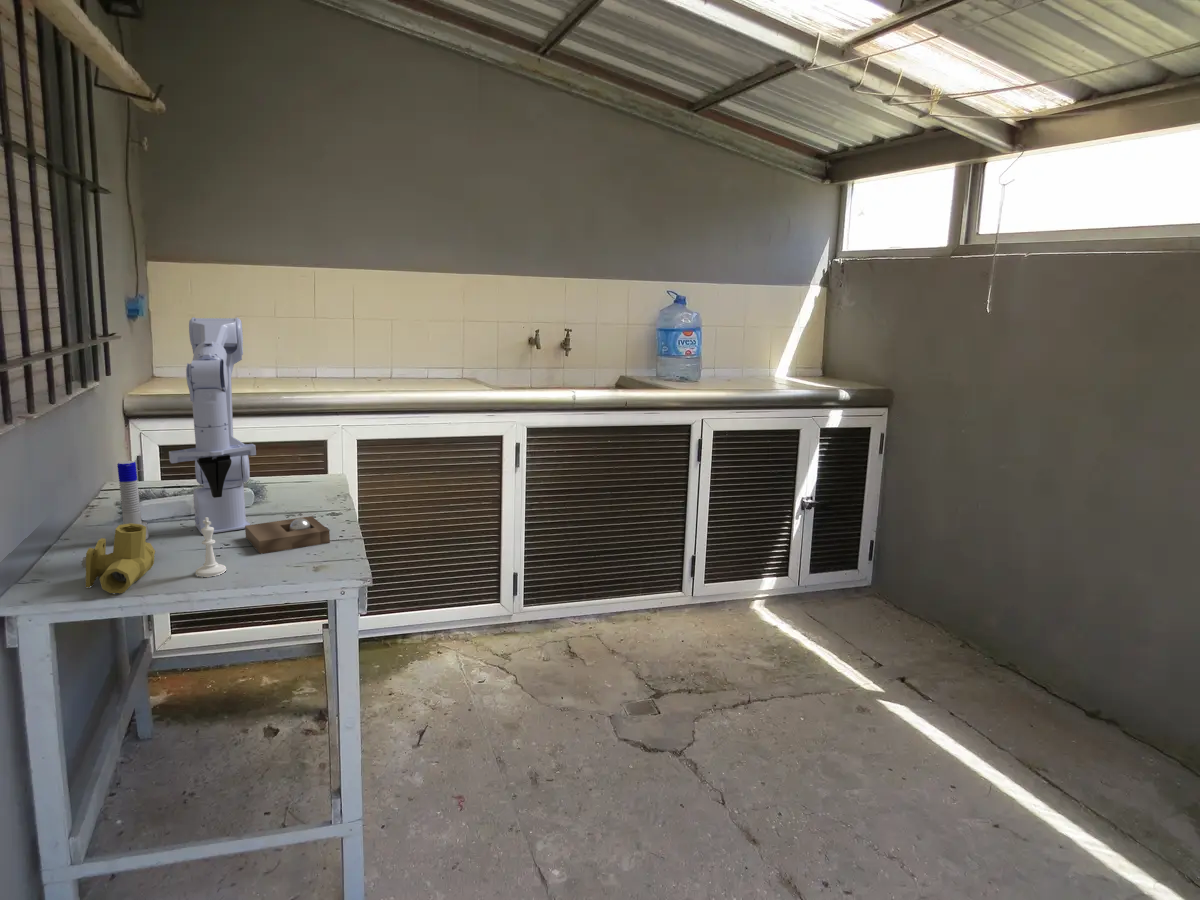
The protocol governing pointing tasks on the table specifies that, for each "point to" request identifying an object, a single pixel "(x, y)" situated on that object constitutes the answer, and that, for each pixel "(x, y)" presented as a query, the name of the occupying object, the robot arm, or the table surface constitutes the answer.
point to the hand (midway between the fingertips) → (216, 496)
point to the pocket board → (285, 535)
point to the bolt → (130, 494)
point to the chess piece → (209, 554)
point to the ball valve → (120, 559)
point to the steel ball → (299, 524)
